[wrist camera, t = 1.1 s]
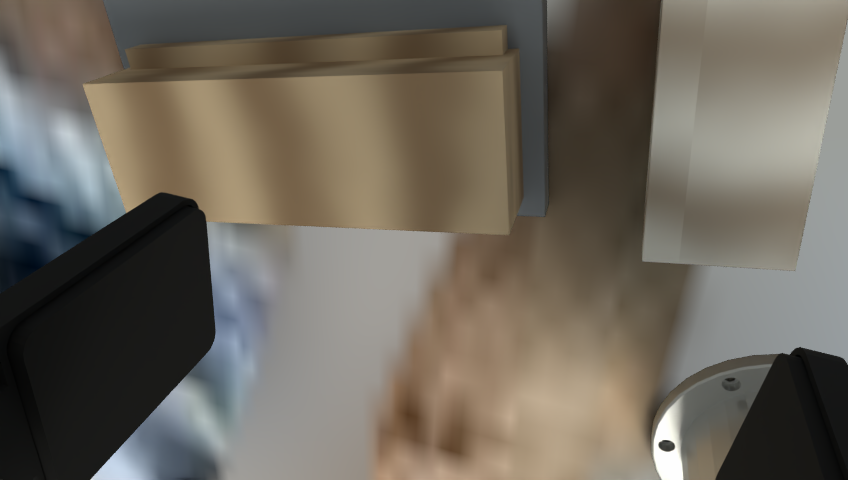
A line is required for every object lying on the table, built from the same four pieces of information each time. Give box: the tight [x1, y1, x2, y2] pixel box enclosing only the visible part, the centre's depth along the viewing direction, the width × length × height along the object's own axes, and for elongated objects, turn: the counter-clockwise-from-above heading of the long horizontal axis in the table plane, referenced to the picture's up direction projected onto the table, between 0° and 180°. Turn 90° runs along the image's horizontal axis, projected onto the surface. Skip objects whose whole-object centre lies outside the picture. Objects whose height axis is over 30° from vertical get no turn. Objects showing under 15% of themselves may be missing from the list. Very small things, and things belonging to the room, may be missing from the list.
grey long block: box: [642, 0, 848, 271], centre depth 25 cm, size 18×6×4 cm, turn 5°
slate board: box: [103, 0, 549, 217], centre depth 30 cm, size 22×20×2 cm
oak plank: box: [83, 25, 524, 235], centre depth 30 cm, size 20×8×4 cm, turn 96°
